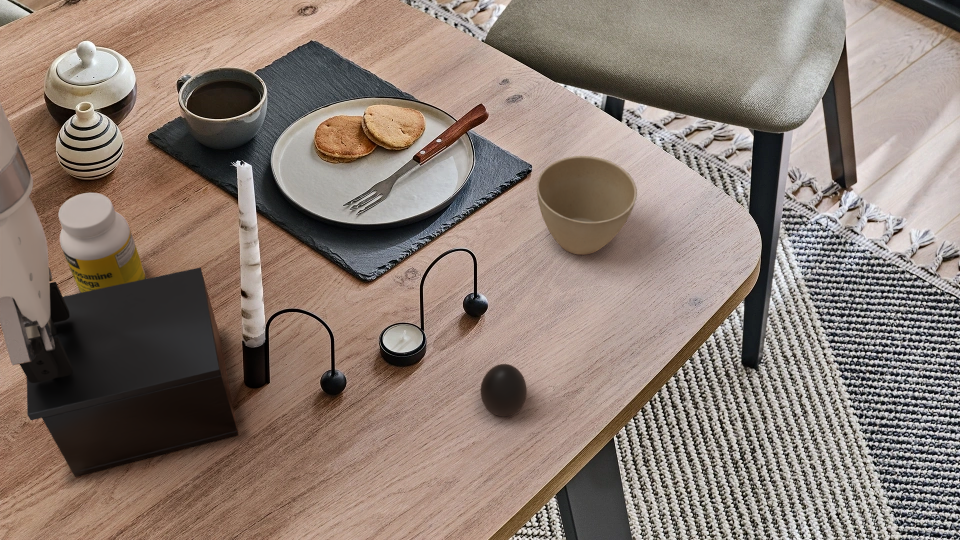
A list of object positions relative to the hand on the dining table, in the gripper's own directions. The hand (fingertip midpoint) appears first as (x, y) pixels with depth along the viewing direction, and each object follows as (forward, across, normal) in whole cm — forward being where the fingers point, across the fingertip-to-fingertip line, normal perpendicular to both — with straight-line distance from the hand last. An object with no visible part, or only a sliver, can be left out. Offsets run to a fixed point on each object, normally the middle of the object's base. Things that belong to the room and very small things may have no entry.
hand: (50, 346), depth 75 cm
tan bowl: (+10, -8, +50) cm, 52 cm away
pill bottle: (+10, -15, +4) cm, 18 cm away
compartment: (+10, 0, +6) cm, 12 cm away
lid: (+1, 0, +5) cm, 5 cm away
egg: (+10, +10, +35) cm, 38 cm away
